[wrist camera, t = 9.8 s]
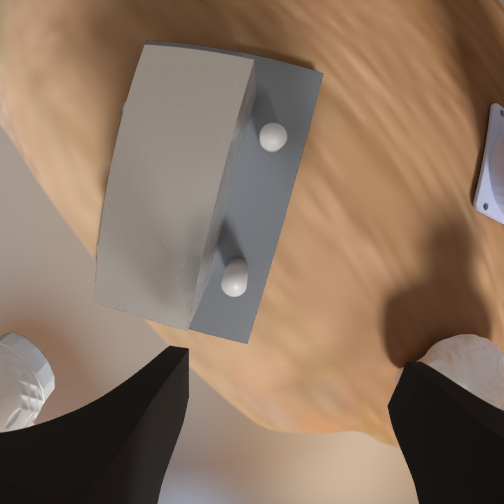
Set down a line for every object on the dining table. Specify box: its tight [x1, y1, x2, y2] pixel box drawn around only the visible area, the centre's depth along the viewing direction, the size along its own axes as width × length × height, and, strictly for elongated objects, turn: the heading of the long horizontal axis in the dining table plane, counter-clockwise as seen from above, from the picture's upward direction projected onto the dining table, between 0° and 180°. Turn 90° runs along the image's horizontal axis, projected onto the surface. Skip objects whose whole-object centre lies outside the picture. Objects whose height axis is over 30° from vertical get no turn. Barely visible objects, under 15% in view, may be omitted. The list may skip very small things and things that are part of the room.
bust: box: [395, 334, 504, 411], centre depth 15 cm, size 12×8×11 cm
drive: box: [94, 45, 256, 331], centre depth 13 cm, size 4×10×6 cm, turn 165°
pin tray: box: [96, 41, 323, 344], centre depth 15 cm, size 10×16×4 cm, turn 165°
